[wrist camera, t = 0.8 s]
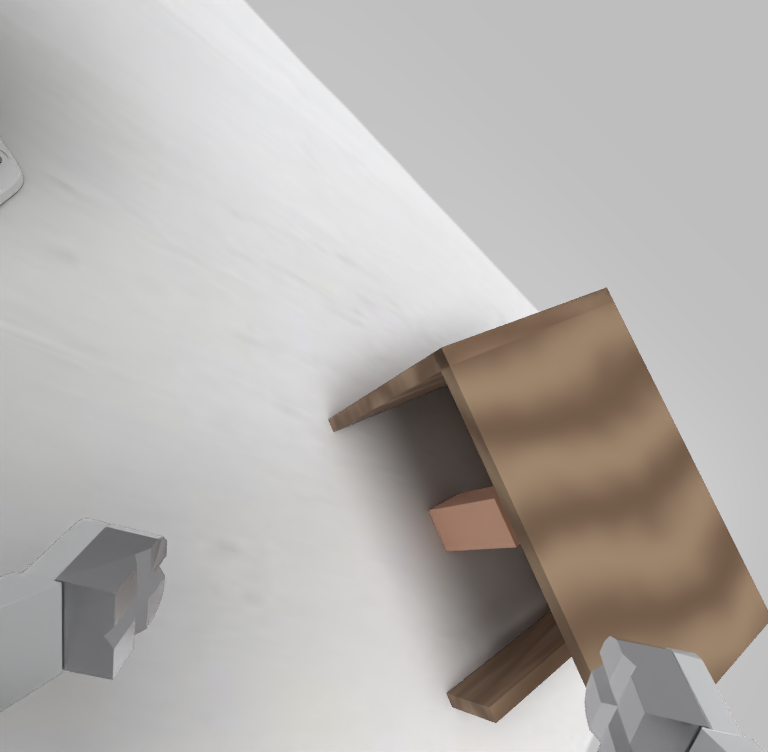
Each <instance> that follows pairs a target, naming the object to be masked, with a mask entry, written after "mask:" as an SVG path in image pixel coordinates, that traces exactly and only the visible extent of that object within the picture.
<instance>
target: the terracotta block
mask: <svg viewBox="0 0 768 752" xmlns="http://www.w3.org/2000/svg"><path fill="white" fill-rule="evenodd" d="M428 511H429V513H430V516H431V518H432V520H433V522H434V525H435V527H436V529H437V531H438V534H439V536H440V538H441V540H442V543H443V545H444V547H445V549H446V551H462V550H479V549H496V548H512V547H518V546H519V545H520V542H519V540H518V538H517V536H516V534H515V531H514V529H513V527H512V525H511V523H510V521H509V518H508V516H507V514H506V512H505V510H504V507H503V505H502V503H501V501H500V499H499V496H498V494H497V492H496V490H495V488H494V486H490V487H485V488H481V489H476V490H471V491H467V492H462V493H459V494H457V495H455V496H454V497H452V498H450V499H448V500H446V501H445V502H443V503H441V504H439V505H437V506H436V507H434V508H432V509H430V510H428Z"/></svg>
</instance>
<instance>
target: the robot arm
mask: <svg viewBox="0 0 768 752" xmlns="http://www.w3.org/2000/svg"><path fill="white" fill-rule="evenodd" d="M0 162H1V163H0V204H2V203H3V202H5V201H6V200H7V199H8V198H10V197H11V196H12V195H14V194H15V193H16V192H17V191H18V190H19V189H20V188H21V186H22V185H23V181H24V178H23V175H22V172H21V170H20V167H19V166H18V164H17V163H16V161H15V160H14V158H13V157H12V155H11V154H10V152H9V151H8V149H7V148H6V146H5V144H4V143H3V141H2V140H1V138H0ZM166 554H167V540H166V539H165V538H164V537H163V536H159V535H155V534H151V533H147V532H143V531H139V530H135V529H131V528H127V527H123V526H119V525H115V524H109V523H105V522H101V521H97V520H93V519H89V518H85V519H82V520H79V521H78V522H76V523H75V524H74V525H73V526H72V527H71V528H70V529H69V530H68V531H67V532H66V533H65V534H64V535H63V536H62V537H60V538H59V539H58V540H57V541H56V542H55V543H54V544H53V545H52V546H51V547H50V548H49V549H48V550H47V551H45V552H44V553H43V554H42V555H41V556H40V557H39V558H38V559H37V560H36V561H35V562H34V563H33V564H32V565H31V566H29V567H28V568H27V569H26V570H25V571H24V572H23V573H17V572H11V573H9V574H6V575H3V576H0V712H1V711H3V710H4V709H6V708H8V707H9V706H11V705H12V704H14V703H16V702H17V701H19V700H20V699H22V698H23V697H25V696H27V695H28V694H30V693H31V692H33V691H34V690H36V689H38V688H39V687H41V686H42V685H44V684H46V683H47V682H49V681H50V680H52V679H53V678H55V677H57V676H58V675H60V674H61V673H62V670H66V671H71V672H76V673H81V674H86V675H91V676H97V677H102V678H107V679H112V680H113V679H114V677H115V676H116V674H117V673H118V671H119V670H120V668H121V666H122V665H123V663H124V662H125V660H126V659H127V657H128V656H129V654H130V653H131V651H132V650H133V648H134V635H135V634H137V633H139V632H141V631H143V630H145V629H147V627H148V625H149V624H150V622H151V621H152V619H153V617H154V616H155V614H156V611H157V609H158V606H159V604H160V601H161V599H162V594H163V590H164V583H165V575H164V573H163V571H162V570H161V568H160V567H159V565H160V564H161V563H162V561H163V560H164V558H165V557H166ZM600 655H601V658H602V662H603V665H601V666H600V667H598V668H596V669H595V670H593V671H592V672H591V675H590V677H589V680H588V683H587V686H586V694H585V711H586V718H587V722H588V726H589V730H590V731H591V732H592V733H593V734H594V735H595V737H596V738H597V739H598V740H599V741H600V742H601V743H600V746H599V748H598V751H597V752H767V751H766V750H765V749H764V748H763V747H761V745H759V744H758V743H757V742H756V741H755V740H754V739H751V738H747V737H744V736H743V734H742V732H741V730H740V729H739V727H738V725H737V723H736V721H735V719H734V717H733V716H732V714H731V712H730V710H729V708H728V706H727V705H726V703H725V701H724V699H723V697H722V695H721V694H720V692H719V690H718V688H717V686H716V684H715V682H714V681H713V679H712V677H711V675H710V673H709V671H708V670H707V668H706V666H705V664H704V662H703V660H702V659H701V658H700V657H699V656H698V655H697V654H695V653H692V652H687V651H682V650H677V649H672V648H663V647H659V646H654V645H649V644H645V643H640V642H635V641H631V640H626V639H621V638H617V637H612V636H609V637H608V638H607V639H606V640H605V641H604V643H603V646H602V648H601V650H600Z"/></svg>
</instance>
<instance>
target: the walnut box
mask: <svg viewBox="0 0 768 752" xmlns="http://www.w3.org/2000/svg"><path fill="white" fill-rule="evenodd" d="M446 385H448V387H449V389H450V392H451V394H452V396H453V398H454V400H455V403H456V405H457V407H458V409H459V411H460V414H461V416H462V418H463V420H464V422H465V424H466V427H467V429H468V431H469V433H470V435H471V438H472V440H473V442H474V444H475V446H476V448H477V451H478V453H479V455H480V457H481V459H482V462H483V464H484V466H485V468H486V470H487V472H488V475H489V477H490V479H491V481H492V483H493V486H494V488H495V490H496V492H497V494H498V496H499V499H500V501H501V503H502V505H503V507H504V510H505V512H506V514H507V516H508V518H509V521H510V523H511V525H512V527H513V529H514V531H515V534H516V536H517V538H518V540H519V542H520V545H521V547H522V549H523V551H524V553H525V555H526V558H527V560H528V562H529V564H530V566H531V569H532V571H533V573H534V575H535V577H536V579H537V582H538V584H539V586H540V588H541V590H542V593H543V595H544V597H545V599H546V601H547V603H548V606H549V608H550V610H551V611H550V612H549V613H548V614H546V615H545V616H544V617H542V618H541V619H540V620H539V621H537V622H536V623H535V624H534V625H532V626H531V627H530V628H529V629H527V630H526V631H525V632H524V633H522V634H521V635H520V636H518V637H517V638H516V639H515V640H513V641H512V642H511V643H510V644H508V645H507V646H506V647H505V648H503V649H502V650H501V651H500V652H498V653H497V654H496V655H494V656H493V657H492V658H491V659H489V660H488V661H487V662H486V663H484V664H483V665H482V666H481V667H479V668H478V669H477V670H476V671H474V672H473V673H472V674H470V675H469V676H468V677H467V678H465V679H464V680H463V681H462V682H460V683H459V684H458V685H457V686H455V687H454V688H453V689H452V690H450V691H449V692H448V693H447V695H448V698H449V700H450V702H451V705H452V707H454V708H456V709H459V710H462V711H464V712H467V713H470V714H473V715H475V716H478V717H481V718H484V719H486V720H489V721H492V722H495V723H497V722H498V721H499V720H500V719H501V718H502V717H504V716H505V715H506V714H507V713H508V712H509V711H510V710H511V709H513V708H514V707H515V706H516V705H517V704H518V703H519V702H521V701H522V700H523V699H524V698H525V697H526V696H527V695H528V694H530V693H531V692H532V691H533V690H534V689H535V688H536V687H538V686H539V685H540V684H541V683H542V682H543V681H544V680H545V679H547V678H548V677H549V676H550V675H551V674H552V673H553V672H555V671H556V670H557V669H558V668H559V667H560V666H561V665H562V664H564V663H565V662H566V661H567V660H568V659H569V658H570V657H572V658H573V660H574V662H575V665H576V667H577V669H578V671H579V673H580V676H581V678H582V680H583V682H584V684H585V686H587V683H588V680H589V677H590V675H591V672H592V671H593V670H595V669H596V668H598V667H600V666H601V665H603V662H602V658H601V655H600V650H601V648H602V646H603V643H604V641H605V640H606V639H607V638H608V637H609V636H612V637H617V638H621V639H626V640H631V641H635V642H640V643H645V644H649V645H654V646H659V647H663V648H672V649H677V650H682V651H687V652H692V653H695V654H697V655H698V656H699V657H700V658H701V659H702V660H703V662H704V664H705V666H706V668H707V670H708V671H709V673H710V675H711V677H712V679H713V681H714V682H715V684H716V683H717V682H718V681H719V680H720V679H721V677H722V676H723V675H724V674H725V673H726V672H727V670H728V669H729V668H730V667H731V666H732V665H733V663H734V662H735V661H736V660H737V658H738V657H739V656H740V655H741V654H742V653H743V652H744V650H745V649H746V648H747V647H748V646H749V645H750V643H751V642H752V641H753V640H754V639H755V638H756V637H757V635H758V634H759V633H760V632H761V631H762V629H763V628H764V627H765V626H766V625H767V624H768V610H767V608H766V606H765V604H764V602H763V600H762V598H761V596H760V594H759V592H758V590H757V588H756V586H755V584H754V582H753V580H752V578H751V576H750V574H749V572H748V570H747V568H746V566H745V564H744V562H743V560H742V558H741V556H740V554H739V552H738V550H737V548H736V546H735V544H734V542H733V540H732V538H731V536H730V534H729V532H728V529H727V528H726V525H725V524H724V521H723V519H722V518H721V515H720V514H719V511H718V509H717V507H716V505H715V504H714V501H713V499H712V497H711V496H710V493H709V492H708V490H707V487H706V486H705V483H704V481H703V479H702V477H701V475H700V473H699V472H698V470H697V467H696V465H695V463H694V461H693V460H692V457H691V455H690V453H689V451H688V449H687V447H686V445H685V443H684V441H683V439H682V437H681V435H680V433H679V431H678V429H677V427H676V425H675V424H674V421H673V419H672V417H671V415H670V413H669V412H668V410H667V407H666V405H665V403H664V401H663V400H662V397H661V395H660V393H659V391H658V389H657V387H656V385H655V383H654V382H653V379H652V377H651V375H650V373H649V371H648V369H647V367H646V365H645V363H644V361H643V359H642V357H641V355H640V354H639V351H638V349H637V347H636V345H635V343H634V341H633V339H632V337H631V335H630V333H629V331H628V329H627V327H626V325H625V323H624V321H623V319H622V317H621V315H620V313H619V311H618V309H617V307H616V305H615V303H614V301H613V299H612V297H611V295H610V293H609V291H608V289H607V288H604V289H602V290H599V291H596V292H593V293H590V294H588V295H585V296H582V297H579V298H577V299H574V300H571V301H569V302H566V303H563V304H560V305H557V306H555V307H552V308H549V309H547V310H544V311H541V312H538V313H536V314H533V315H530V316H527V317H525V318H522V319H519V320H516V321H514V322H511V323H508V324H505V325H503V326H500V327H497V328H494V329H492V330H489V331H486V332H483V333H481V334H478V335H475V336H472V337H470V338H467V339H464V340H461V341H459V342H456V343H453V344H450V345H448V346H445V347H442V348H440V349H439V350H437V351H436V352H434V353H432V354H431V355H429V356H428V357H426V358H425V359H423V360H421V361H420V362H418V363H417V364H415V365H414V366H412V367H410V368H409V369H407V370H406V371H404V372H402V373H401V374H399V375H398V376H396V377H395V378H393V379H391V380H390V381H388V382H387V383H385V384H384V385H382V386H380V387H379V388H377V389H376V390H374V391H373V392H371V393H369V394H368V395H366V396H365V397H363V398H362V399H360V400H358V401H357V402H355V403H354V404H352V405H350V406H349V407H347V408H346V409H344V410H343V411H341V412H339V413H338V414H336V415H335V416H333V417H332V418H330V419H328V420H329V422H330V424H331V427H332V429H333V431H334V432H335V431H337V430H340V429H342V428H344V427H347V426H349V425H352V424H354V423H357V422H359V421H361V420H364V419H366V418H369V417H371V416H374V415H376V414H378V413H381V412H383V411H386V410H388V409H390V408H393V407H395V406H398V405H400V404H403V403H405V402H407V401H410V400H412V399H415V398H417V397H420V396H422V395H424V394H427V393H429V392H432V391H434V390H436V389H439V388H441V387H444V386H446Z"/></svg>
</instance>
